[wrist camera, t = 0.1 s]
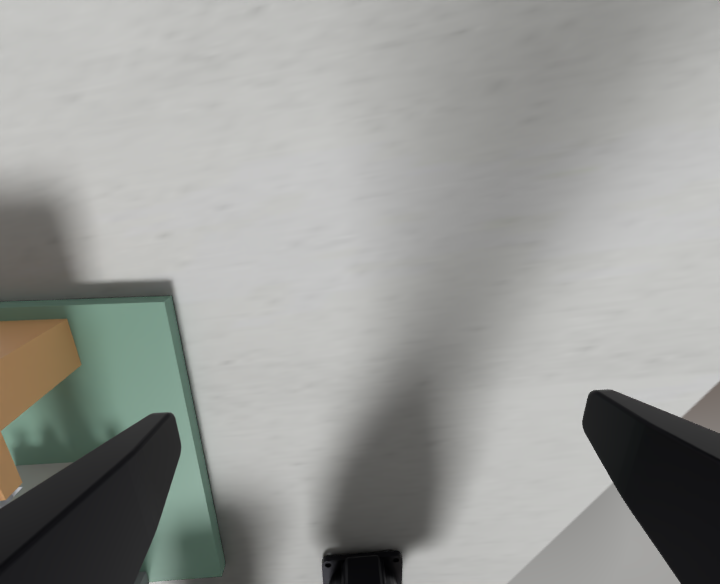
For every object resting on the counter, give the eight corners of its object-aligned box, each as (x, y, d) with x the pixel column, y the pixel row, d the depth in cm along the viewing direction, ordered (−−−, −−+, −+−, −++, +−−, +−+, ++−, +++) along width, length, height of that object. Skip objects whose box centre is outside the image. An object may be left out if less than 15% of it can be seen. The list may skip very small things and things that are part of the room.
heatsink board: (225, 563, 30) (197, 667, 24) (16, 578, 29) (-69, 691, 23) (171, 295, 22) (108, 348, 16) (-118, 305, 21) (-303, 366, 15)
